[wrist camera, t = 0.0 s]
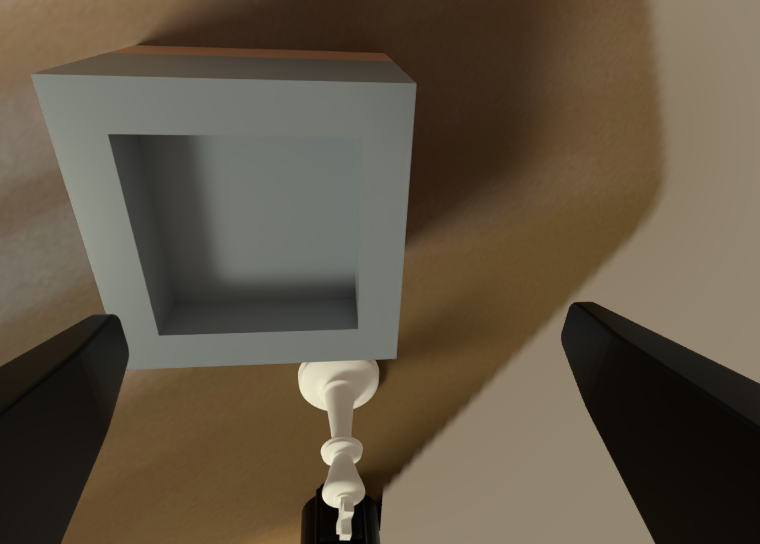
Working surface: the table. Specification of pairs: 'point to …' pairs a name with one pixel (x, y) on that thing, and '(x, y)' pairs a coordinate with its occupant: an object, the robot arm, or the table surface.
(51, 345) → the robot arm
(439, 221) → the table surface
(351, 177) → the grey planter box
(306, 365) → the chess piece
